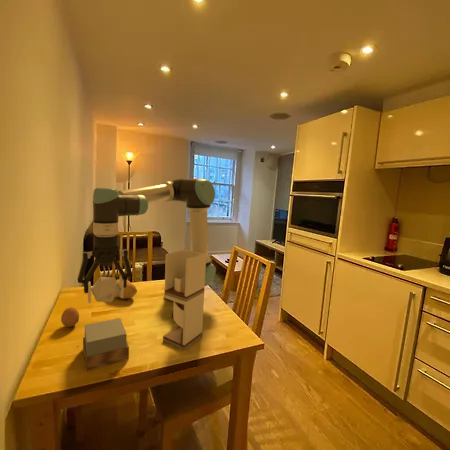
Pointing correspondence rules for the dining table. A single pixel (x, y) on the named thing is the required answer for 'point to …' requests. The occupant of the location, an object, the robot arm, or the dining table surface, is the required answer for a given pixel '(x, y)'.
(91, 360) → the block
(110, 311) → the dining table surface
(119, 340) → the block
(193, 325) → the display case
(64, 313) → the egg
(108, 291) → the die
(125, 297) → the potato
